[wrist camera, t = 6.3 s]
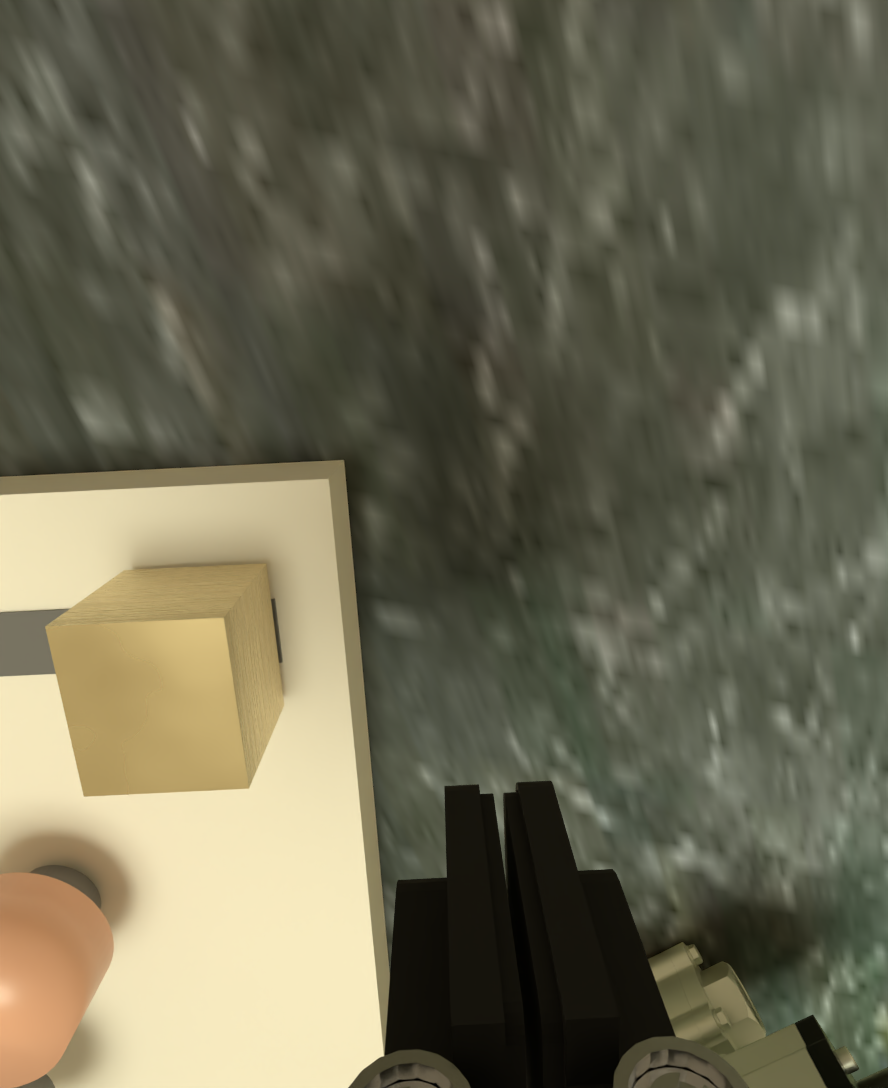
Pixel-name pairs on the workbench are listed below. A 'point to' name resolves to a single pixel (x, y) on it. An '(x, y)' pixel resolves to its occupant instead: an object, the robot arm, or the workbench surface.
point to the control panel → (206, 816)
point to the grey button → (39, 1083)
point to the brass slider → (170, 679)
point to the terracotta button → (47, 966)
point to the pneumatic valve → (749, 1028)
